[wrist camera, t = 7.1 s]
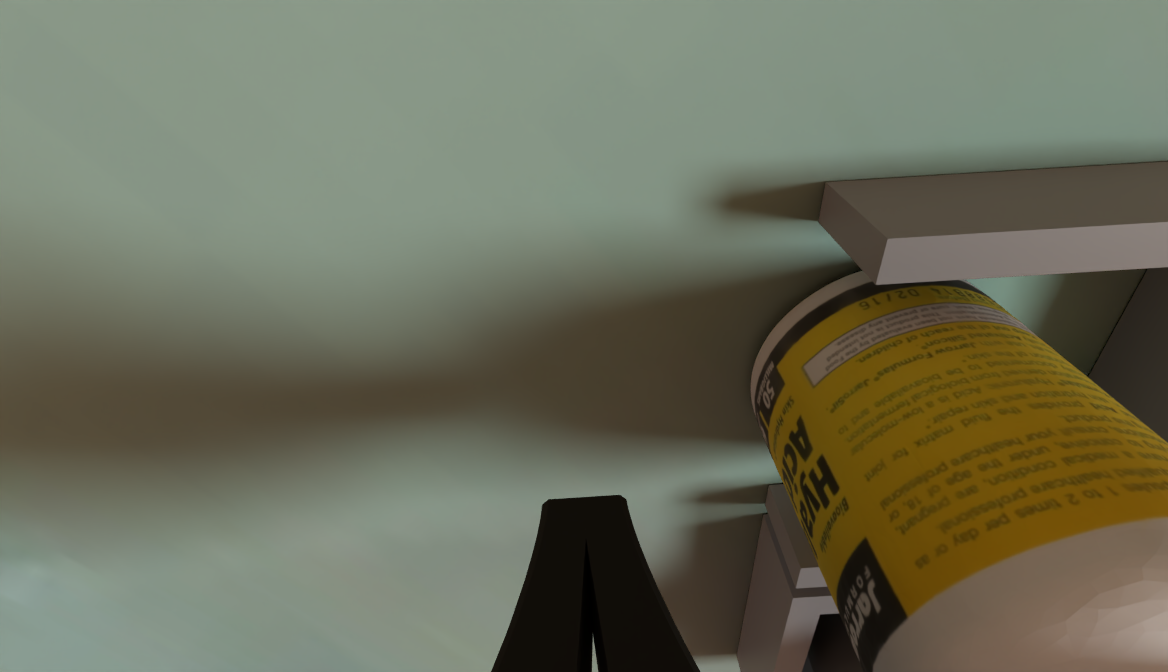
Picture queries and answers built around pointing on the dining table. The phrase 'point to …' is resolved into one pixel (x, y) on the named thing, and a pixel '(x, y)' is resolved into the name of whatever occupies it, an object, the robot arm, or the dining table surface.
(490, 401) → the dining table surface
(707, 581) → the dining table surface
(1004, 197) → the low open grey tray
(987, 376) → the supplement bottle
